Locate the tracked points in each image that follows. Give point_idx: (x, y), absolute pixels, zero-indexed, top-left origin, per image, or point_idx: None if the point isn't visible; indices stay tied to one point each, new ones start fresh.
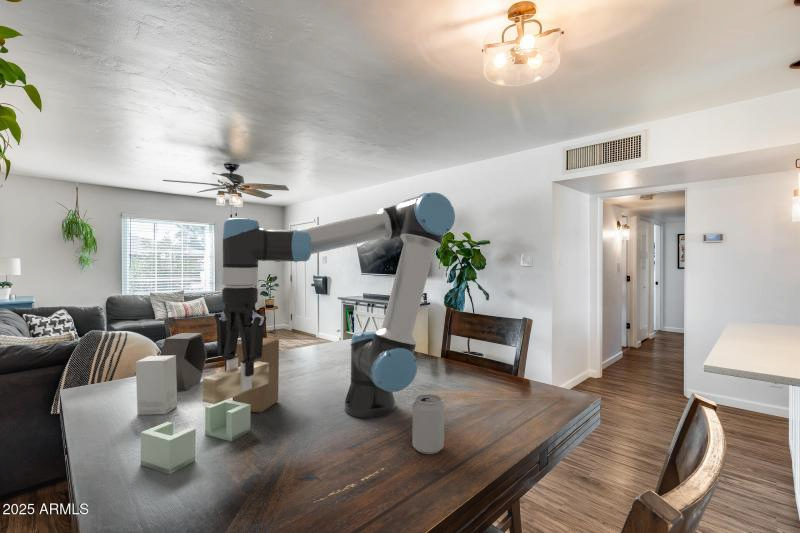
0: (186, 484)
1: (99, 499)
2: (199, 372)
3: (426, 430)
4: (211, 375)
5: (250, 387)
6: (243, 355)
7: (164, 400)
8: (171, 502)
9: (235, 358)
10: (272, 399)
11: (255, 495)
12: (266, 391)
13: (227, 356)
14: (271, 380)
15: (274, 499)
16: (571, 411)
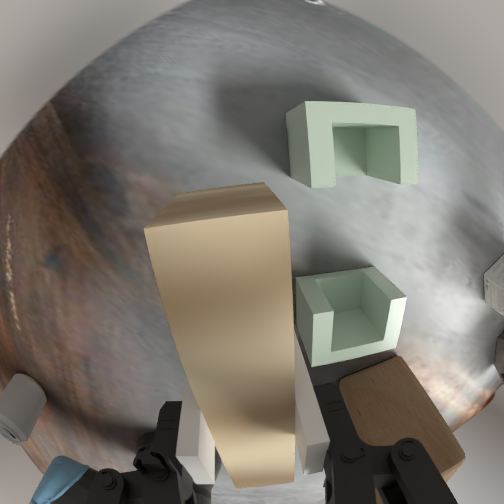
0: (213, 109)
1: (311, 15)
2: (502, 371)
3: (4, 391)
4: (286, 284)
5: None
6: (175, 498)
7: (501, 283)
8: (180, 63)
9: (312, 469)
10: None
11: (72, 168)
12: (350, 416)
13: (333, 464)
14: None
15: (44, 182)
16: (35, 461)
